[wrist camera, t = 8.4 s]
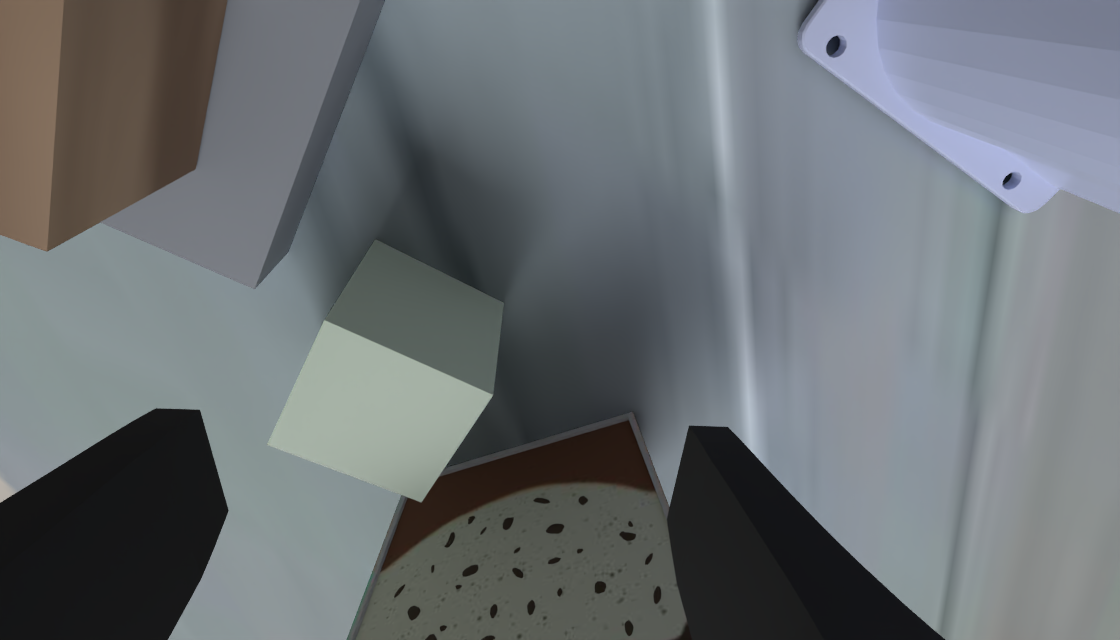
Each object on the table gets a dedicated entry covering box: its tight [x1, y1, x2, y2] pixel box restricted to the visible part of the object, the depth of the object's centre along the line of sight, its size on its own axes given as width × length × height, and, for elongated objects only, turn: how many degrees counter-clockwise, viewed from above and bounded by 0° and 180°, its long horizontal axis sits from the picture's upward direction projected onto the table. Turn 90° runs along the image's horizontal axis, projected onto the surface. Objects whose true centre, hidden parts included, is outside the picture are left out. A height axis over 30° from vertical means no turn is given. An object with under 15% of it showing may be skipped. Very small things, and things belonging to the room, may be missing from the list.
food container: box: [347, 412, 692, 640], centre depth 20 cm, size 12×6×10 cm, turn 110°
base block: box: [101, 0, 385, 289], centre depth 14 cm, size 9×9×3 cm
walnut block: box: [0, 0, 227, 251], centre depth 11 cm, size 4×4×5 cm
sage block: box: [267, 239, 504, 502], centre depth 18 cm, size 4×4×5 cm
